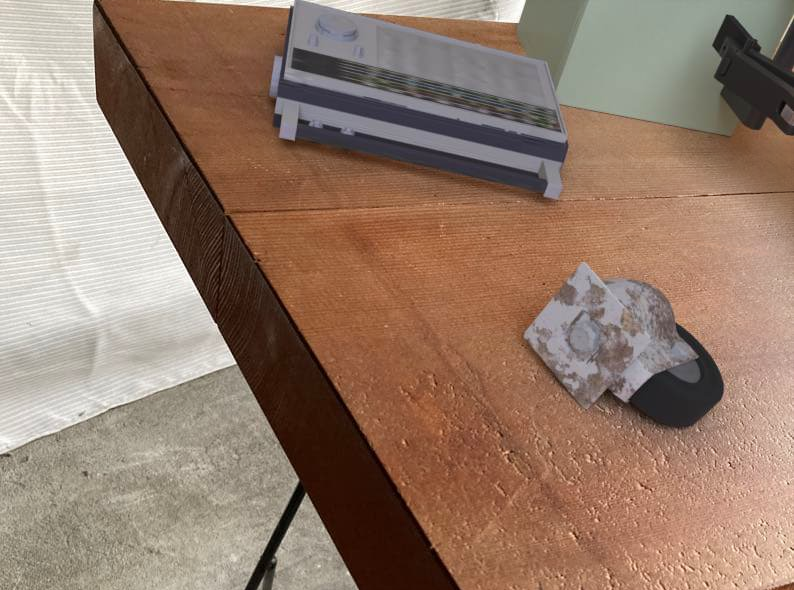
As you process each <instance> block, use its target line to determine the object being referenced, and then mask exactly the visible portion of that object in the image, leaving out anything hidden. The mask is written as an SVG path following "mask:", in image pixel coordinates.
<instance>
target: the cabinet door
mask: <svg viewBox="0 0 794 590" xmlns="http://www.w3.org/2000/svg"><path fill="white" fill-rule="evenodd" d="M726 14H728V15H732V16H734V17H735V18H736V19H737V20H738V21H739V22H740V24H741V25H742V26H743V27H744V28H745V29H746V30H747V32H748V33H749V34H750V35H751V36H752V37H753V38H754V39H757V40H758V42H757V43H758V44H759V45H760V46H761V50H760V52H759V53H761V54H763V55H764V56H766V57H768V58H770V59H772V60H773V61H775V62H777V63H779V64H780V65H782V66H784V67H786V68H788V69H789V70H791V71H793V69H794V0H584V3H583V6H582V9H581V12H580V14H579V17H578V20H577V23H576V26H575V28H574V31H573V34H572V37H571V39H570V42H569V45H568V48H567V51H566V53H565V56H564V59H563V62H562V64H561V67H560V70H559V73H558V76H557V78H556V81H555V84H554V88H555V92H556V95H557V99H558V102H559V105H560V106H566V107H572V108H576V109H581V110H582V109H583V110H588V111H592V112H598V113H605V114H608V115H609V114H610V115H613V116H619V117H625V118H630V119H635V120H640V121H646V122H652V123H657V124H663V125H666V126H667V125H668V126H672V127H677V128H684V129H689V130H694V131H698V132H704V133H705V132H706V133H710V134H716V135H720V136H726V137H732V136H733V134H734V133H735V131H736V128H737V127H738V125H739V123H741V124H742V125H743V126H744V127H746V128H747V129H750V130H754V131H760V130H762V128H763V126H764V124H765V122H766V120H767V118H768V117H767V116H765V115H764V114H763V113H761V112H760V111H758V110H757V109H756V108H754V107H753V106H752V105H750V104H749V103H748V102H746V101H745V100H743V99H742V98H741V97H739V96H738V95H737V94H735V93H734V92H733V91H731V90H730V89H728V88H727V87H726V86H724V85H723V84H722V83H720V82H719V81H717V80H716V79H715V78H714V77H713V76H714V74H715V72H716V70H717V68H718V66H719V64H720V62H721V60H722V58H721V57H720V55H719V54H718V53H717V51H716V50H715V49H714V48H713V46H712V44H713V42H714V40H715V38H716V35H717V33H718V31H719V29H720V27H721V25H722V22H723V20H724V18H725V16H726ZM784 34H785V35H784Z"/></svg>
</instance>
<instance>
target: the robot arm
mask: <svg viewBox="0 0 794 590" xmlns="http://www.w3.org/2000/svg"><path fill="white" fill-rule="evenodd" d="M757 42H758V40H757V39H754V38H753V37H752V36H751V35H750V34H749V33H748V32H747V30H746V29H745V28H744V27H743V26H742V25H741V24H740V22H739V21H738V20H737V19H736V18H735V17H734V16H732V15H728V14H726V16H725V18H724V20H723V22H722V25H721V27H720V29H719V31H718V33H717V35H716V38H715V40H714V42H713V44H712V46H713V48H714V49H715V50H716V51H717V53H718V54H719V55H720V57H721V58H722V60H721V62H720V64H719V66H718V68H717V70H716V72H715V74H714V76H713V77H714V78H715V79H716V80H717V81H719V82H720V83H722V84H723V85H724V86H726V87H727V88H728V89H730V90H731V91H733V92H734V93H735V94H737V95H738V96H739V97H741V98H742V99H743V100H745V101H746V102H748V103H749V104H750V105H752V106H753V107H754V108H756V109H757V110H758V111H760V112H761V113H763V114H764V115H765V116H767V118H768V119H770V120H771V121H772V122H773V124H774V125H775V126H776V127H777V128H778V129H779V130H780V131H781V132H782V133H783V134H784V135H785V136H790V137H794V71H793V70H792V71H791V70H789V69H788V68H786V67H784V66H782V65H780V64H779V63H777V62H775V61H773V60H772V59H773V58H771V59H770V58H768V57H766V56H764V55H763V54H761V53H759V52H760V50H761V46H760V45H759V44H758V43H757Z"/></svg>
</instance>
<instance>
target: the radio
mask: <svg viewBox="0 0 794 590" xmlns="http://www.w3.org/2000/svg"><path fill="white" fill-rule="evenodd" d="M268 98H269V99H272V100H275V107H274V114H273V120H272V127H275V128H279V135H278V137H279V138H280V139H285V140H291V141H294V142H295V140H296V139H299V140H304V141H308V142H313V143H317V144H322V145H326V146H331V147H335V148H339V149H344V150H349V151H353V152H358V153H362V154H367V155H371V156H375V157H378V158H379V157H380V158H384V159H387V160H393V161H398V162H402V163H405V164H406V163H407V164H411V165H416V166H420V167H425V168H429V169H433V170H437V171H442V172H446V173H452V174H455V175H460V176H464V177H469V178H474V179H477V180H483V181H486V182H490V183H496V184H499V185H504V186H509V187H514V188H517V189H523V190H528V191H531V192H536V193H540V194H542V196H543V197H544V198H550V199H554V200H558V199H559V197H560V195H561V192H562V189H563V187H564V186H563V182H562V178H561V171H562V169H563V166H564V164H565V160H566V156H567V154H568V150H569V147H570V144H569V141H568V137H569V133H568V130H567V126H566V124H565V120H564V116H563V113H562V109H561V105H560V104H559V102H558V99H557V95H556V92H555V88H554V85H553V81H552V78H551V75H550V71H549V68H548V64H547V62H546V61H542V60H539V59H535V58H531V57H527V55H522V54H518V53H514V52H512V51H511V52H510V51H506V50H503V49H499V48H494V47H490V46H487V45H482V44H478V43H474V42H470V41H467V40H462V39H459V38H455V37H450V36H448V35H447V36H446V35H442V34H439V33H435V32H431V31H426V30H423V29H418V28H415V27H411V26H406V25H403V24H398V23H395V22H390V21H387V20H383V19H378V18H375V17H370V16H367V15H363V14H358V13H354V12H351V11H346V10H343V9H338V8H335V7H331V6H326V5H322V4H320V3H316V2H315V3H314V2H310V1H306V0H294V1H293V5H290V6H289V13H288V19H287V25H286V32H285V38H284V44H283V51H282V56H281V55H276V54H275V55H274V61H273V67H272V74H271V80H270V86H269V94H268Z"/></svg>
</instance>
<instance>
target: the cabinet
mask: <svg viewBox="0 0 794 590" xmlns="http://www.w3.org/2000/svg"><path fill="white" fill-rule="evenodd" d="M583 3H584V0H525V2H524V5H523V7H522V11H521V13H520V17H519V21H518V24H517V27H516V29H515V36H516V37H517V39H518V42H519V43H520V45H521V47H522V49H523V51H524V53H525V56H527V57H531V58H535V59H539V60H542V61H546V62H547V64H548V68H549V71H550V75H551V78H552V81H553V85H554V84H555V81H556V78H557V76H558V73H559V70H560V67H561V64H562V62H563V59H564V56H565V53H566V51H567V48H568V45H569V42H570V39H571V37H572V34H573V31H574V28H575V26H576V23H577V20H578V17H579V14H580V12H581V9H582V6H583Z"/></svg>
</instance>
